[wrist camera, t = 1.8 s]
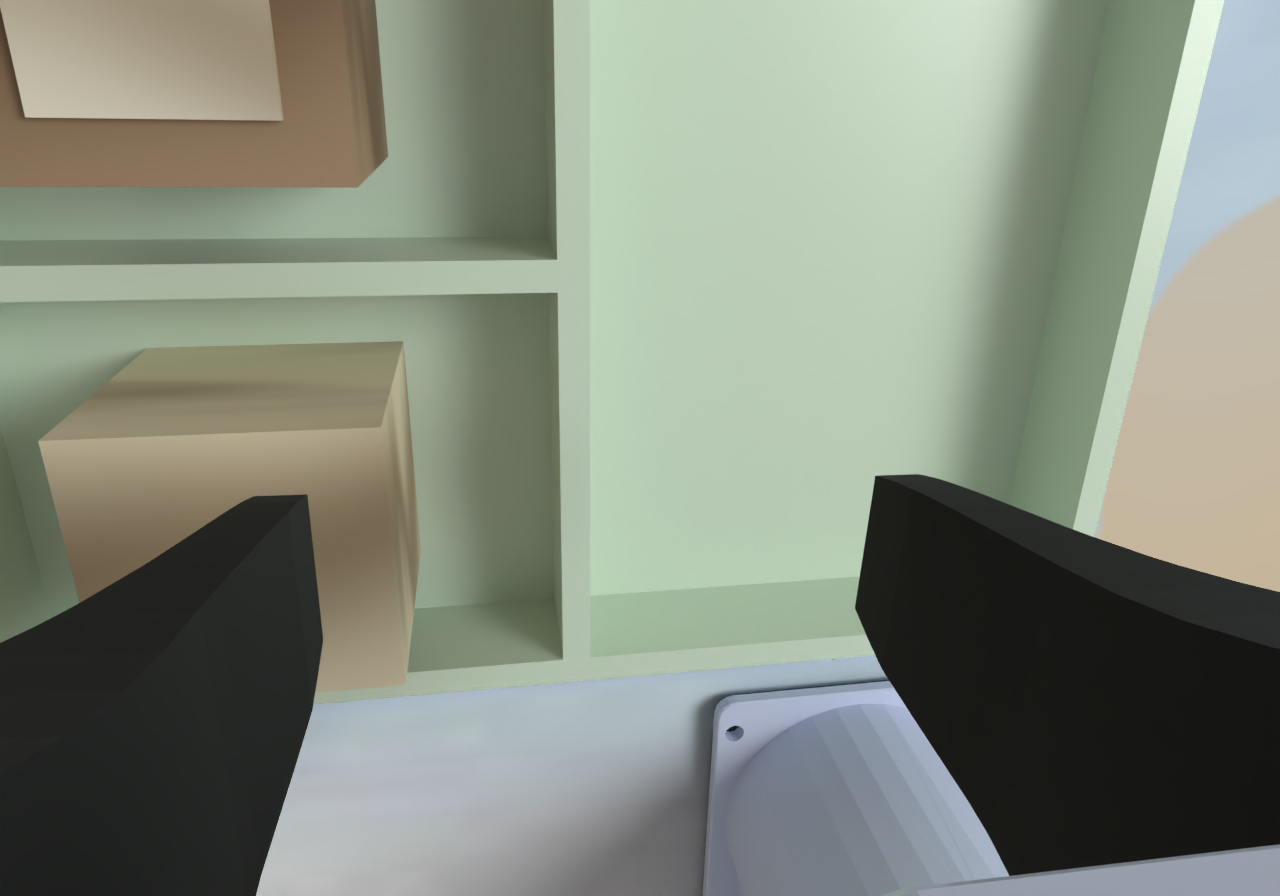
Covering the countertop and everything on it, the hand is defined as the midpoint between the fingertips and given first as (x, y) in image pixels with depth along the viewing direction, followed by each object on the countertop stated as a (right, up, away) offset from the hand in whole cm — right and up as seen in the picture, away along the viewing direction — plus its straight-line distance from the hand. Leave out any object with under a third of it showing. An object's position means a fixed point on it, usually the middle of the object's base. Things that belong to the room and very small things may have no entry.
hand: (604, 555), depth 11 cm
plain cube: (-7, +1, +8) cm, 11 cm away
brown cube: (-7, +9, +5) cm, 12 cm away
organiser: (-1, +6, +8) cm, 10 cm away
